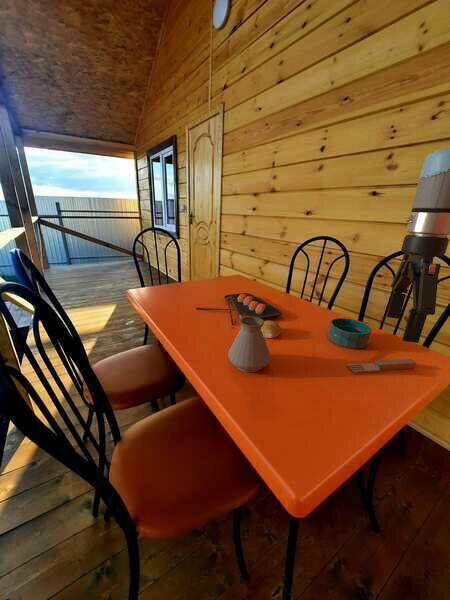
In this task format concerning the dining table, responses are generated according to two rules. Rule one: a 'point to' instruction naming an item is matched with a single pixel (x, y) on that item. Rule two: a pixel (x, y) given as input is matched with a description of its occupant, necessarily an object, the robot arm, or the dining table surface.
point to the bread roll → (270, 329)
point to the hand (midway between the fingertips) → (400, 328)
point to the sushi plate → (250, 306)
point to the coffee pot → (249, 344)
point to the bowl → (349, 333)
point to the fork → (382, 366)
